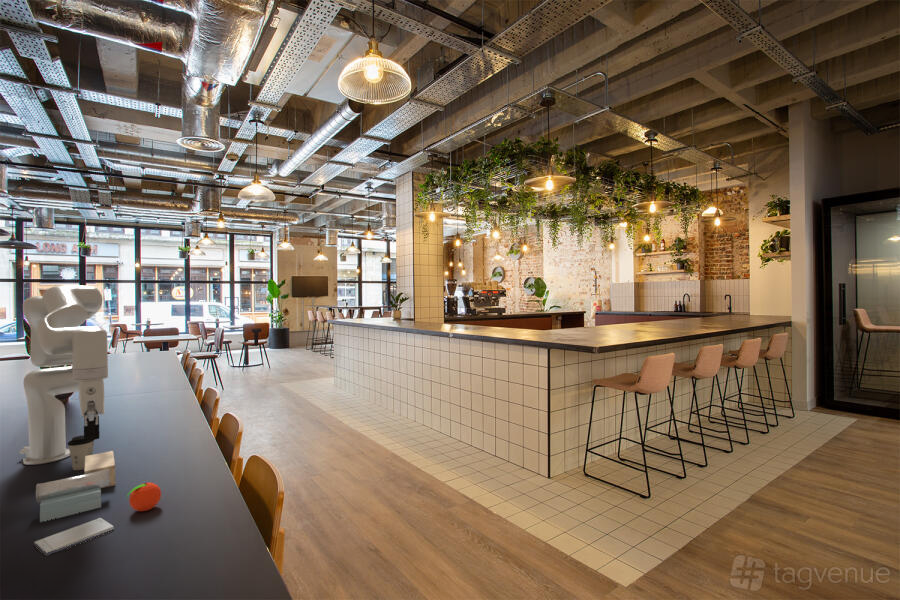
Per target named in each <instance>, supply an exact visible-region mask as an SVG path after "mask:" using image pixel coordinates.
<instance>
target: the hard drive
mask: <svg viewBox="0 0 900 600" xmlns="http://www.w3.org/2000/svg"><path fill="white" fill-rule="evenodd" d="M112 529H114V530H115V527H114V525H112V524H111V523H109V521H107V520H105V519H103V518H102V517H98V518H95V519H93V520H90V521H88V522H85V523H82V524H80V525H76V526H74V527H71V528H68V529H66V530H65V529H64V530H63V531H60V532H57V533H54V534H52V535H49V536H45V537H44V538H41V539H38V540H36V541H35V540H34V543H35V544H37V545H38V546H39V547H40V548H41V549H42V550H43V551H45V552H46V553H48V552H51V551H54V550H58V549H60V548H63V547H66V546H69V545H71V544H74V543H76V542H79V541H82V540H85V539H87V538H90V537H92V536H96V535H99V534H101V533H104V532H107V531H109V530H112ZM34 543H33V544H34Z"/></svg>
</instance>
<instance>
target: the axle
mask: <svg viewBox="0 0 900 600" xmlns="http://www.w3.org/2000/svg"><path fill="white" fill-rule="evenodd" d="M106 486H109V487H111V486H110V469H108V470H104V471H99V472H94V473H89V474H85V473H84V474H80V475H76V476H70V477H65V478H61V479H57V480H52V481H46V482H42V483H37V484H36V486H35V501H36V503H41V500H45V499H50V498H54V497H58V496H63V495H67V494H72V493H76V492H80V491H85V490H89V489H94V488H98V487H105V488H107V487H106Z"/></svg>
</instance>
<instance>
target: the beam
mask: <svg viewBox="0 0 900 600" xmlns="http://www.w3.org/2000/svg"><path fill="white" fill-rule="evenodd" d="M108 469H110V486H106V487H101V489H104V488H109V487H112V486H113V487H114V486H116V463H115V457H114V450H109V451H105V452H100V453H95V454H92V455H88V456H85V469H84V474H89V473H94V472H99V471H104V470H108Z"/></svg>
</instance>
